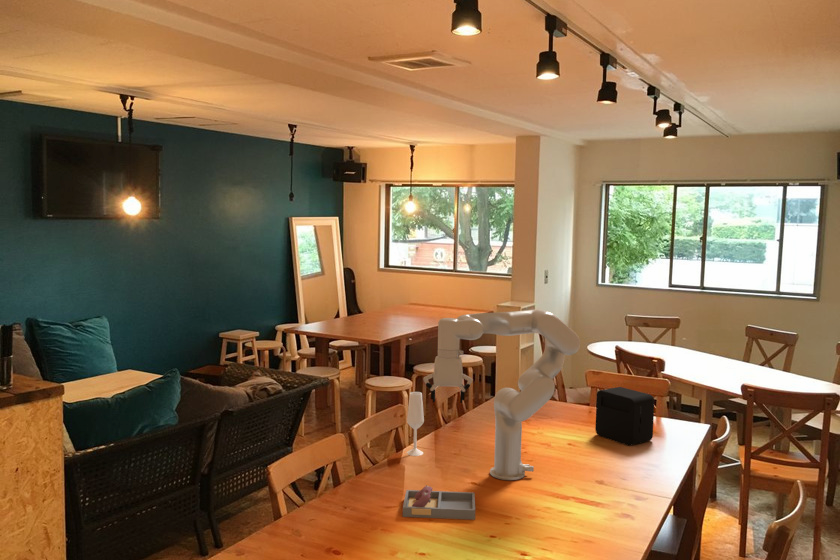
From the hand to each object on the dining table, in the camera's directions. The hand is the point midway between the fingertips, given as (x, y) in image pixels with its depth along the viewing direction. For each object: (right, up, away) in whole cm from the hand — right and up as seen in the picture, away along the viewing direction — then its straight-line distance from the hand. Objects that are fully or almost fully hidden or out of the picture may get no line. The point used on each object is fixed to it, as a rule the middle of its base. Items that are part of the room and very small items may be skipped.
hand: (447, 401), depth 247 cm
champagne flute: (-12, -26, +31) cm, 42 cm away
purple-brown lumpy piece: (-9, -29, -22) cm, 38 cm away
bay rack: (-3, -30, -22) cm, 38 cm away
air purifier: (+78, -25, +55) cm, 98 cm away
